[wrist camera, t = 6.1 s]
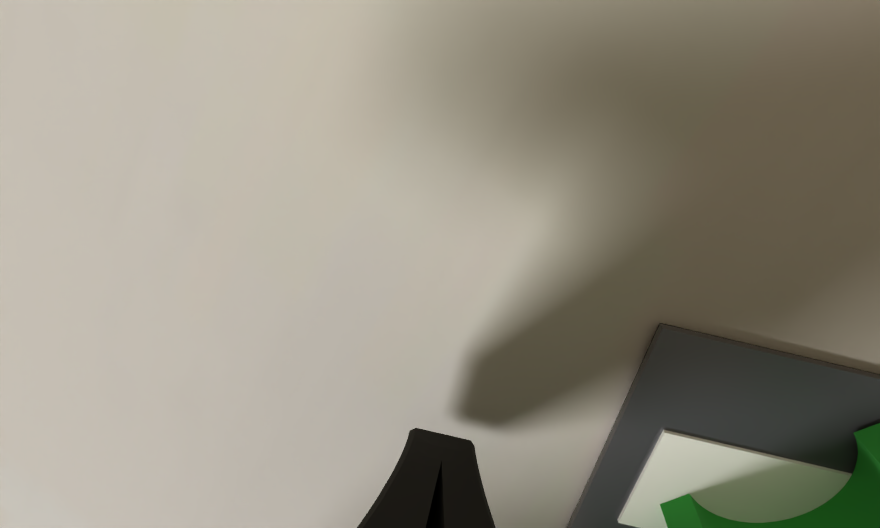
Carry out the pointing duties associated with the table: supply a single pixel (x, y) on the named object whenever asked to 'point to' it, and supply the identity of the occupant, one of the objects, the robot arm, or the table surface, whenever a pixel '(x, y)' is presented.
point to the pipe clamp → (832, 524)
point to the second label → (728, 434)
